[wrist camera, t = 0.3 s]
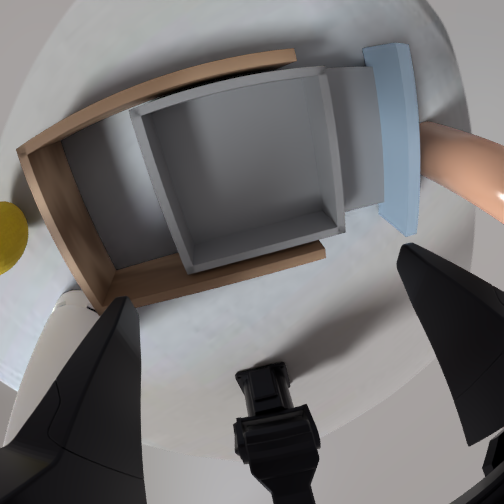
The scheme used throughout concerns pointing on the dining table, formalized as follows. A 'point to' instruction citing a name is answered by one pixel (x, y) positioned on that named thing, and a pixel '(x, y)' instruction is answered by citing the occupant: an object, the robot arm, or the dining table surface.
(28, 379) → the bottle
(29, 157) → the dock
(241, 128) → the tray
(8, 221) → the lemon
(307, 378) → the dining table surface
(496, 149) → the peach tall cylinder
